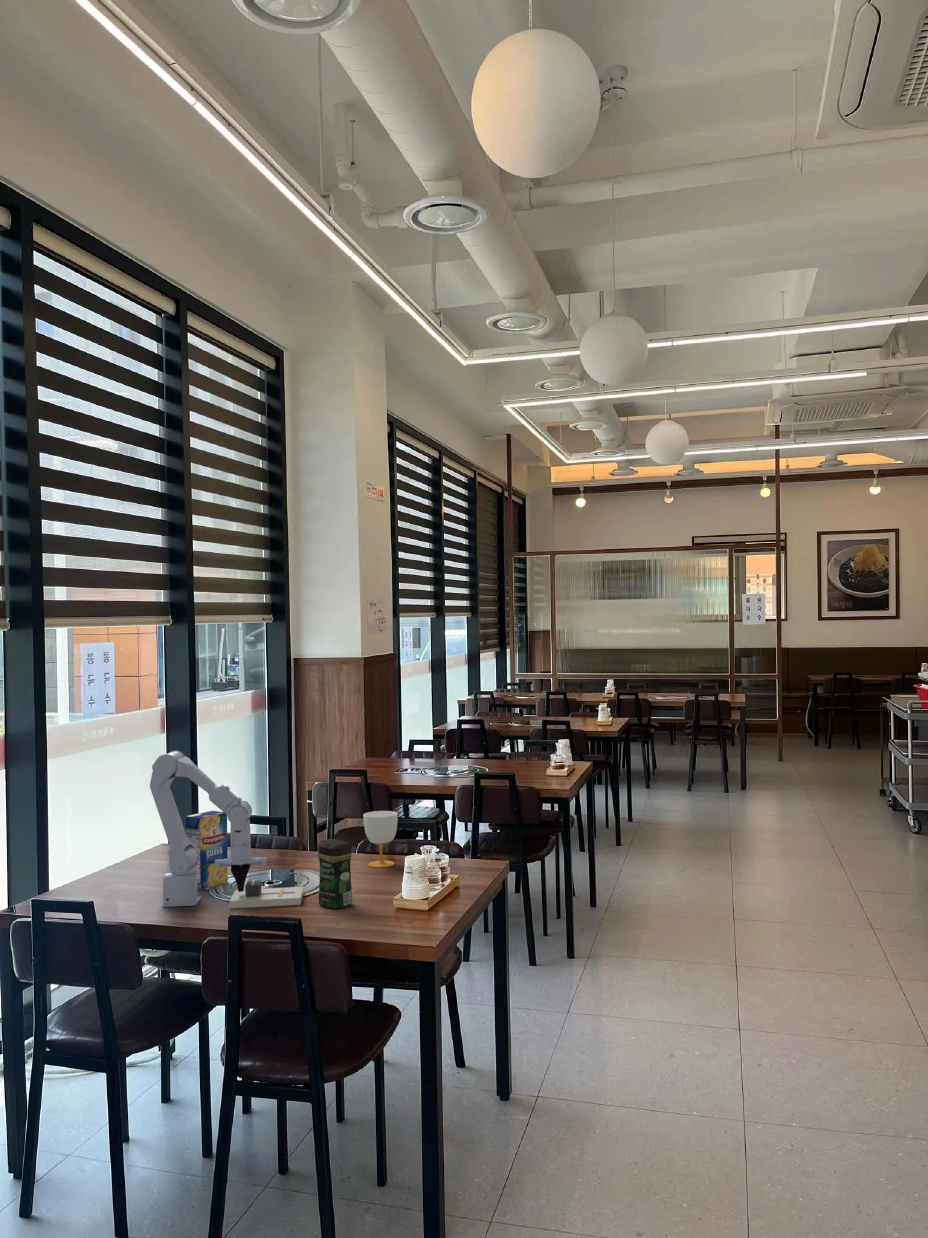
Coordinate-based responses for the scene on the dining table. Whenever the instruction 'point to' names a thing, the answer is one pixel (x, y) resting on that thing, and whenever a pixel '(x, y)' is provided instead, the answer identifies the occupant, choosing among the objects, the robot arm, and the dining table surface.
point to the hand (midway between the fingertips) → (241, 891)
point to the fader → (253, 888)
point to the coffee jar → (335, 874)
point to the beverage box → (209, 846)
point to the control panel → (268, 898)
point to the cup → (380, 832)
